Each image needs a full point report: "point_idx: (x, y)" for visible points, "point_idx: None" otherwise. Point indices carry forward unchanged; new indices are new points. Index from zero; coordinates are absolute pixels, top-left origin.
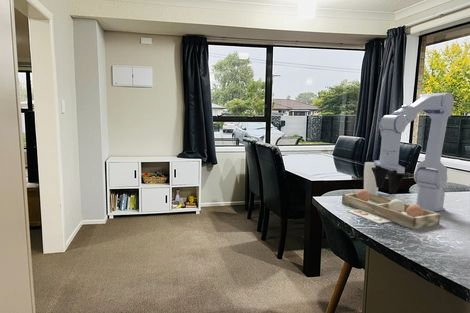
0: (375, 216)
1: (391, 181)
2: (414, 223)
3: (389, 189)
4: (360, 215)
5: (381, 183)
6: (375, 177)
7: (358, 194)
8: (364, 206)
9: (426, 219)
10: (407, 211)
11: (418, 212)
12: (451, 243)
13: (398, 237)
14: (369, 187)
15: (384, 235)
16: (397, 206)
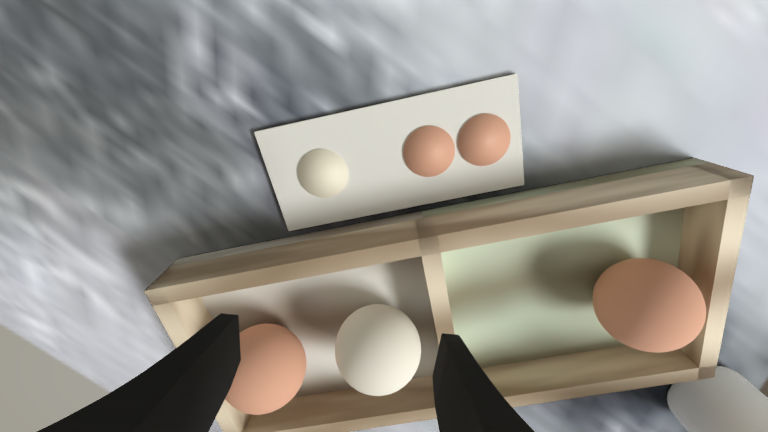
0: (370, 191)
1: (95, 401)
2: (162, 277)
3: (212, 330)
4: (403, 105)
5: (443, 398)
6: (498, 410)
7: (662, 273)
8: (500, 208)
9: None
10: (267, 336)
11: None
12: (11, 289)
13: (37, 93)
14: (746, 429)
15: (55, 25)
16: (340, 336)
